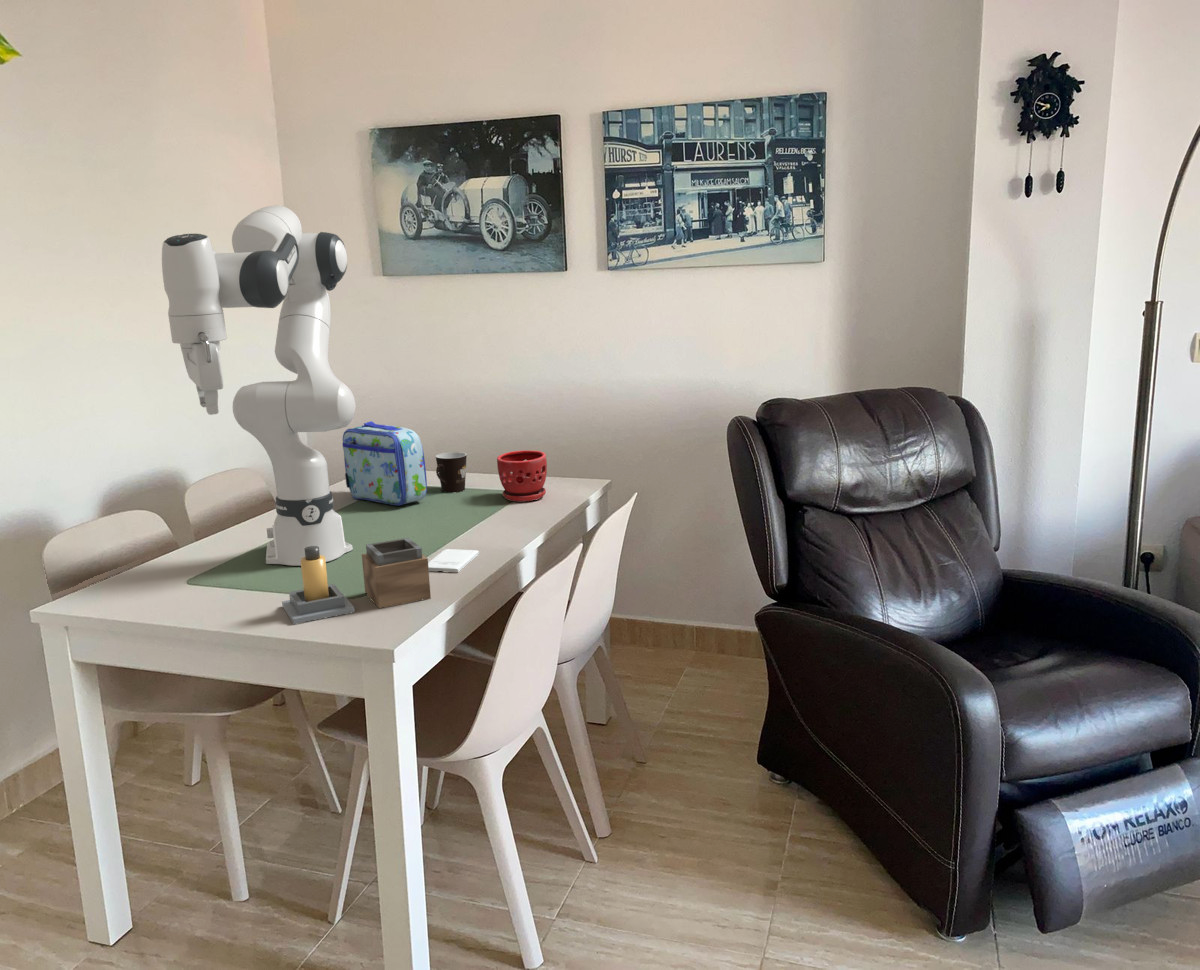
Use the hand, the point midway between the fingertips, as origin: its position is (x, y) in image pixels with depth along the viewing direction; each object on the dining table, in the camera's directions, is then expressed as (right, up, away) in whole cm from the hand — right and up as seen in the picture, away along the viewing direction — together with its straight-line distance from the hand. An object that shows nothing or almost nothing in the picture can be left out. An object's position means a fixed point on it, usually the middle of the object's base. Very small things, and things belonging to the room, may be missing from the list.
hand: (209, 410), depth 170 cm
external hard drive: (+37, -31, +37) cm, 60 cm away
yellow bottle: (+16, -36, +11) cm, 40 cm away
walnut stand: (+30, -35, +17) cm, 49 cm away
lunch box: (+11, -18, +92) cm, 95 cm away
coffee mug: (+26, -15, +101) cm, 105 cm away
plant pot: (+48, -17, +90) cm, 103 cm away
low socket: (+16, -37, +11) cm, 41 cm away
